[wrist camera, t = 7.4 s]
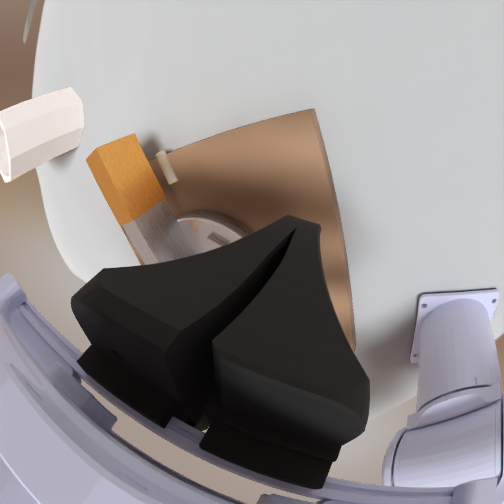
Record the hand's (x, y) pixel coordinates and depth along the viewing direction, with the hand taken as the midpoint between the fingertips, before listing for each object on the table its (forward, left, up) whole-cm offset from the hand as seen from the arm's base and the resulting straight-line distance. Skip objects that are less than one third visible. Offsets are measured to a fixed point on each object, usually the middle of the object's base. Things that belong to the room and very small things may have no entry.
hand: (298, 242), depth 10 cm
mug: (+15, +28, -10) cm, 33 cm away
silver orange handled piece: (-3, +12, -8) cm, 14 cm away
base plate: (-7, +11, -9) cm, 16 cm away
